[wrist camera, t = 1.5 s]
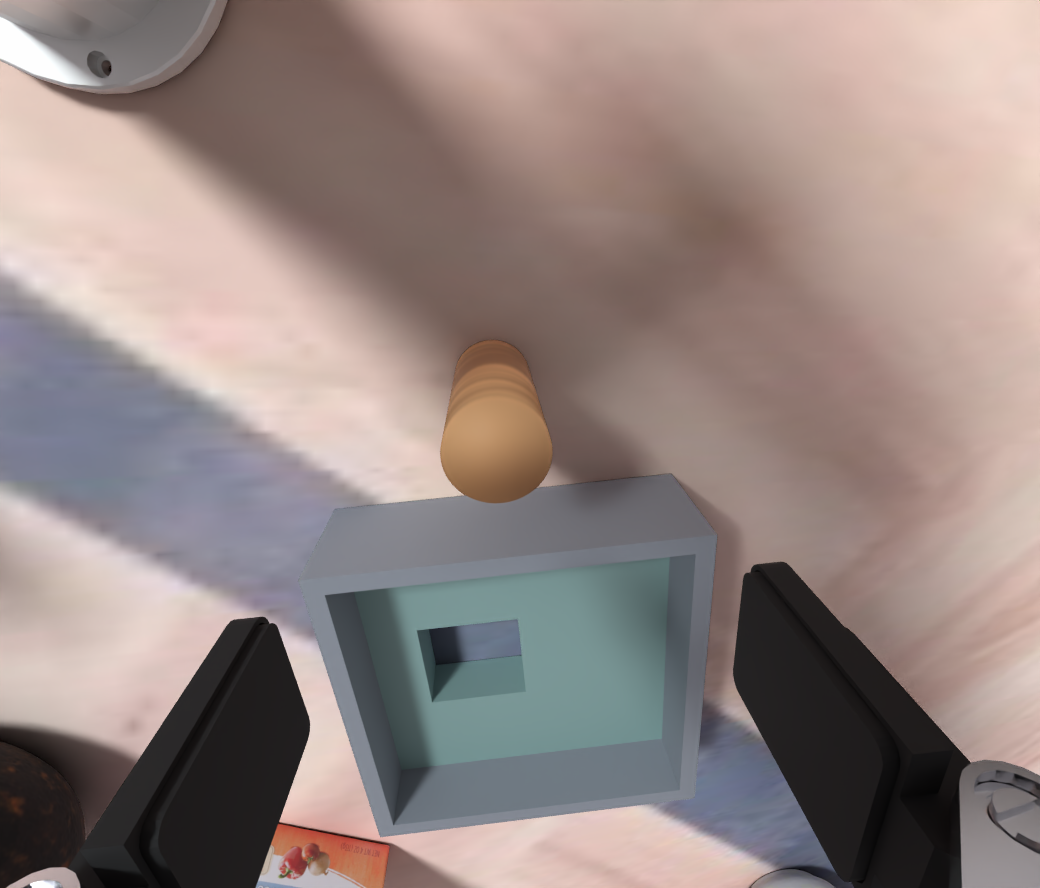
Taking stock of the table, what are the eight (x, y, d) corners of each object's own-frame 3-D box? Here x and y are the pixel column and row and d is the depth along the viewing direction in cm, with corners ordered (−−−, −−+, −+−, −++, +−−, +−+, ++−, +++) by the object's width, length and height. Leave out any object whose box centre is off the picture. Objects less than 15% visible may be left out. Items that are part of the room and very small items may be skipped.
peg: (450, 343, 26) (432, 407, 17) (526, 336, 27) (548, 395, 17) (459, 415, 28) (448, 508, 19) (532, 408, 28) (555, 497, 19)
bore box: (334, 509, 30) (298, 580, 24) (671, 473, 30) (717, 534, 24) (396, 740, 38) (380, 837, 32) (661, 709, 38) (694, 798, 32)
